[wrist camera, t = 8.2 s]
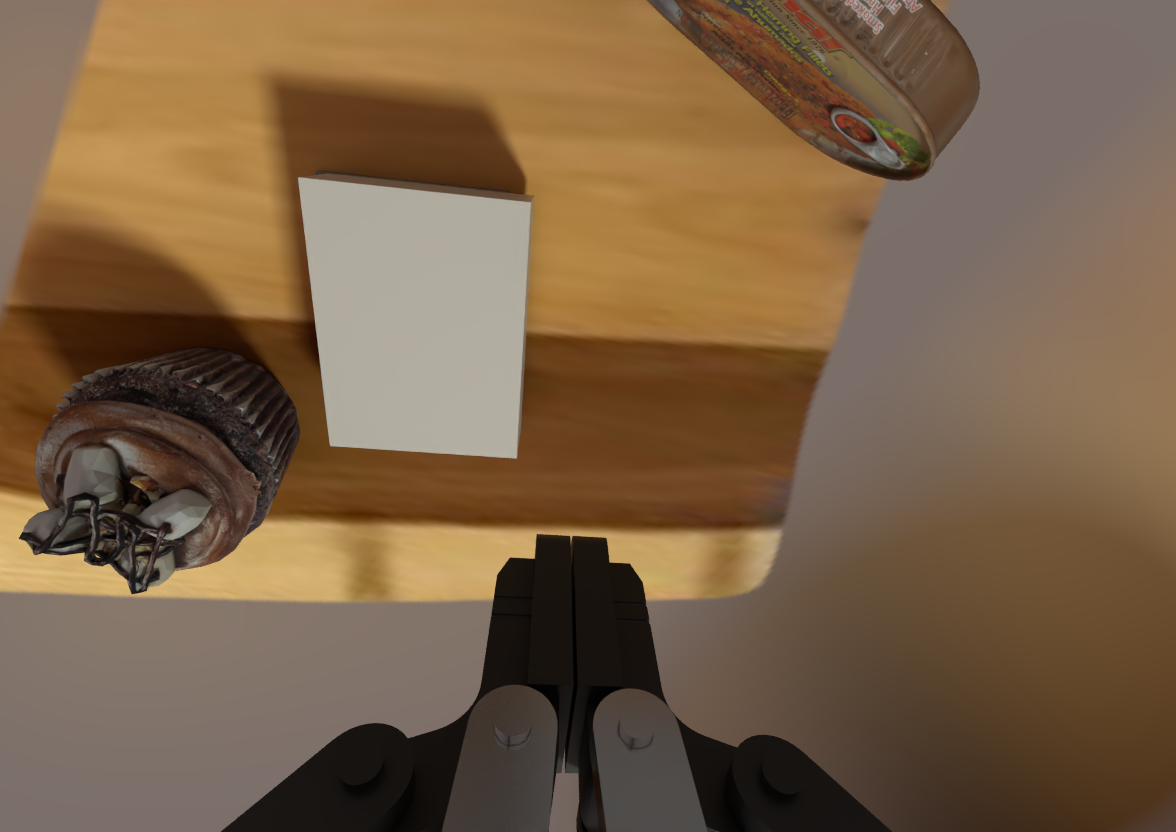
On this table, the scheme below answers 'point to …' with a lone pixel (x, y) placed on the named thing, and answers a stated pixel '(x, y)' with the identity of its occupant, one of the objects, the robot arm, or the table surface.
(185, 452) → the cupcake
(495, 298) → the tile
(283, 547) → the table surface
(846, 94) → the tin
